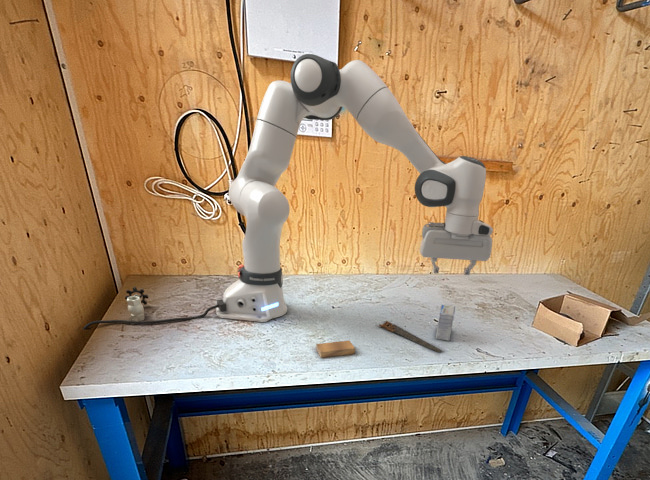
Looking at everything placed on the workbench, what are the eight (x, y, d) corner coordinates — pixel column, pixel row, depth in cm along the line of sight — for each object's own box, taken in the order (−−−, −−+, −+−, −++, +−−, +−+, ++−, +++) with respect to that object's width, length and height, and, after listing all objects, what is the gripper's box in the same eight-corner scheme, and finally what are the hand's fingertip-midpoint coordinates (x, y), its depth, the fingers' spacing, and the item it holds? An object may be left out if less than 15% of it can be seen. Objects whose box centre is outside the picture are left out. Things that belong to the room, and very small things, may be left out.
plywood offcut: (321, 357, 120) (321, 352, 119) (316, 349, 124) (316, 343, 123) (354, 353, 123) (355, 348, 122) (349, 345, 127) (349, 340, 126)
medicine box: (449, 341, 135) (454, 315, 130) (435, 339, 135) (439, 313, 130) (450, 331, 141) (455, 306, 136) (437, 328, 142) (441, 303, 137)
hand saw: (446, 348, 131) (447, 346, 130) (438, 353, 128) (438, 351, 127) (386, 321, 143) (386, 320, 143) (377, 325, 140) (377, 323, 140)
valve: (150, 320, 131) (150, 305, 140) (145, 300, 127) (146, 285, 136) (125, 322, 128) (127, 307, 137) (120, 301, 125) (122, 287, 134)
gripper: (425, 224, 115) (418, 275, 123) (498, 229, 118) (486, 279, 126) (421, 219, 121) (414, 268, 128) (491, 224, 123) (480, 272, 131)
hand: (450, 273), depth 127 cm, fingers open, 8 cm apart
